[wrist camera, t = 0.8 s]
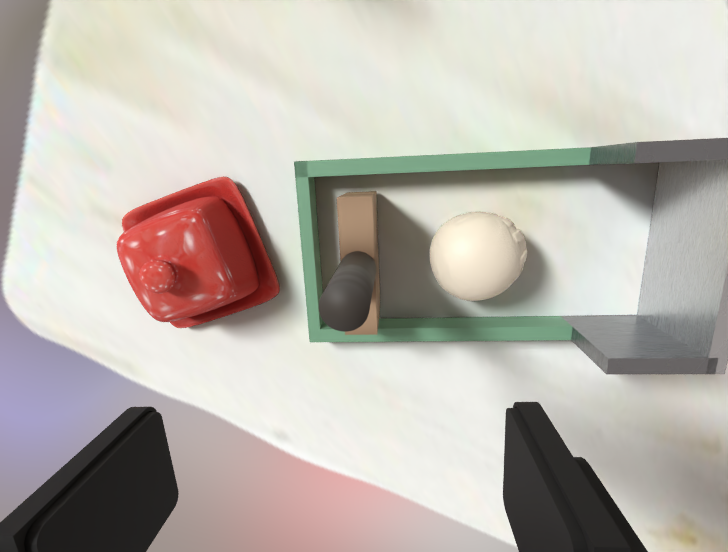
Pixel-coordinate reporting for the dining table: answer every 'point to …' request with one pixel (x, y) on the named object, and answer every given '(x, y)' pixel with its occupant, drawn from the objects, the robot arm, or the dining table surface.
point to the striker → (355, 268)
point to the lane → (421, 326)
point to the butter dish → (196, 255)
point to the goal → (672, 267)
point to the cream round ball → (477, 255)
